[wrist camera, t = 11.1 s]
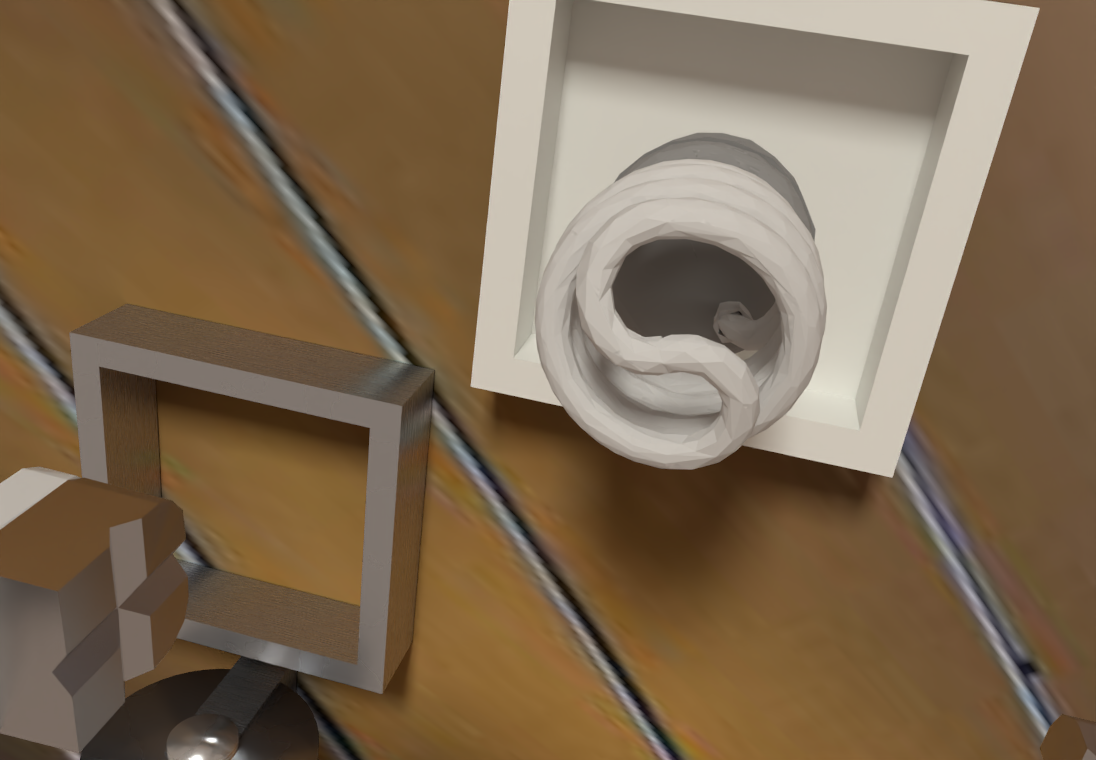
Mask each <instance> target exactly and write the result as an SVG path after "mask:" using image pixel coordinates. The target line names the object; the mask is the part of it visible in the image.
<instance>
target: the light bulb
mask: <svg viewBox="0 0 1096 760" xmlns="http://www.w3.org/2000/svg"><path fill="white" fill-rule="evenodd" d="M815 230H816V229H815V227H814V224H813V221H812V219H811V216H810V214H809V211H808V209H807V206H806V203H805V201H804V198H803V196H802V193H801V191H800V189H799V186H798V184H797V182H796V180H795V178H794V177H793V176H792V175H791V173H790V172H789V171H788V170H787V169H786V168H785V167H784V166H783V165H782V164H781V163H780V162H779V161H778V160H777V158H776V157H775V156H773V155H772V154H770V153H769V152H768V151H766V150H765V149H763V148H762V147H760V146H759V145H758V144H756V143H755V142H753V141H752V140H749V139H745V138H741V137H737V136H733V135H729V134H725V133H695V134H691V135H688V136H685V137H681V138H678V139H674V140H672V141H670V142H667V143H665V144H663V145H661V146H659V147H657V148H655V149H653V150H651V151H649V152H647V153H645V154H644V155H642V156H641V157H640V158H639V159H638V160H636V161H635V162H634V163H633V164H631V165H630V166H629V167H628V168H626V169H625V170H624V171H623V172H621V173H620V174H619V176H618V177H617V179H616V180H615V182H614V183H613V184H611V185H609V186H608V187H607V188H606V189H604V190H603V191H602V192H600V193H599V194H598V195H596V196H595V197H594V198H593V199H591V200H590V201H589V202H588V203H587V204H586V205H585V206H584V207H583V208H582V209H581V210H580V212H579V213H578V214H577V215H576V216H575V217H574V219H573V220H572V221H571V222H570V223H569V225H568V226H567V228H566V230H565V231H564V233H563V234H562V236H561V238H560V239H559V241H558V243H557V244H556V247H555V250H554V251H553V253H552V255H551V257H550V259H549V262H548V264H547V266H546V268H545V270H544V273H543V277H542V280H541V283H540V287H539V291H538V295H537V299H536V310H535V331H536V343H537V350H538V354H539V358H540V362H541V366H542V368H543V371H544V373H545V375H546V377H547V380H548V382H549V384H550V387H551V389H552V391H553V393H554V394H555V396H556V397H557V399H558V400H559V402H560V403H561V405H562V406H563V407H564V409H565V410H566V412H567V413H568V415H569V416H570V417H571V418H572V419H573V420H574V421H575V422H576V423H577V424H578V425H579V426H580V427H581V428H582V429H583V430H584V431H585V432H587V433H588V434H589V435H590V436H591V437H592V438H593V439H595V440H596V441H597V442H598V443H600V444H601V445H603V446H605V447H606V448H608V449H609V450H611V451H613V452H614V453H616V454H618V455H621V456H623V457H625V458H628V459H630V460H632V461H635V462H638V463H642V464H646V465H649V466H653V467H657V468H660V469H696V468H700V467H704V466H708V465H711V464H715V463H719V462H720V461H722V460H723V459H725V458H726V457H728V456H729V455H731V454H732V453H734V452H735V451H737V450H738V449H739V448H740V447H741V446H742V445H743V443H744V442H745V441H746V440H747V439H749V438H751V437H753V436H755V435H757V434H759V433H761V432H762V431H764V430H766V429H768V428H769V427H770V426H771V425H773V424H774V423H775V422H777V421H778V420H779V419H780V418H782V417H783V416H784V415H785V414H786V413H787V412H788V411H789V410H790V409H791V408H792V406H793V405H794V404H795V402H796V401H797V400H798V398H799V397H800V396H801V394H802V393H803V391H804V390H805V389H806V387H807V386H808V385H809V383H810V380H811V378H812V375H813V373H814V371H815V368H816V366H817V363H818V360H819V354H820V349H821V343H822V338H823V335H824V332H825V325H826V314H827V302H826V295H825V289H824V274H823V270H822V265H821V261H820V256H819V252H818V249H817V247H816V244H815ZM743 350H746V351H754V350H758V351H757V352H756V353H755V354H753V355H752V356H751V357H750V358H748V359H745V360H742V359H741V358H739V357H738V356H737V355H736V353H738V352H741V351H743Z"/></svg>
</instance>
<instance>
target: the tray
mask: <svg viewBox="0 0 1096 760" xmlns="http://www.w3.org/2000/svg"><path fill="white" fill-rule="evenodd" d="M1039 9H1040V8H1035V7H1028V6H1021V5H1015V4H1007V3H1000V2H993V1H986V0H509V10H508V20H507V30H506V40H505V50H504V60H503V70H502V80H501V90H500V100H499V110H498V120H497V130H496V140H495V150H494V160H493V170H492V180H491V190H490V200H489V210H488V220H487V230H486V240H485V250H484V260H483V270H482V280H481V289H480V299H479V309H478V319H477V329H476V339H475V349H474V359H473V369H472V379H471V387H475V388H480V389H484V390H489V391H493V392H498V393H503V394H507V395H512V396H517V397H521V398H526V399H531V400H535V401H540V402H544V403H549V404H554V405H558V406H562V405H561V403H560V402H559V400H558V399H557V397H556V396H555V394H554V393H553V391H552V389H551V387H550V384H549V382H548V380H547V377H546V375H545V373H544V371H543V368H542V366H541V362H540V358H539V354H538V350H537V343H536V331H535V310H536V299H537V295H538V291H539V287H540V283H541V280H542V277H543V273H544V270H545V268H546V266H547V264H548V262H549V259H550V257H551V255H552V253H553V251H554V250H555V247H556V244H557V243H558V241H559V239H560V238H561V236H562V234H563V233H564V231H565V230H566V228H567V226H568V225H569V223H570V222H571V221H572V220H573V219H574V217H575V216H576V215H577V214H578V213H579V212H580V210H581V209H582V208H583V207H584V206H585V205H586V204H587V203H588V202H589V201H590V200H591V199H593V198H594V197H595V196H596V195H598V194H599V193H600V192H602V191H603V190H604V189H606V188H607V187H608V186H609V185H611V184H613V183H614V182H615V180H616V179H617V177H618V176H619V174H620V173H621V172H623V171H624V170H625V169H626V168H628V167H629V166H630V165H631V164H633V163H634V162H635V161H636V160H638V159H639V158H640V157H641V156H642V155H644V154H645V153H647V152H649V151H651V150H653V149H655V148H657V147H659V146H661V145H663V144H665V143H667V142H670V141H672V140H674V139H678V138H681V137H685V136H688V135H691V134H695V133H725V134H729V135H733V136H737V137H741V138H745V139H749V140H752V141H753V142H755V143H756V144H758V145H759V146H760V147H762V148H763V149H765V150H766V151H768V152H769V153H770V154H772V155H773V156H775V157H776V158H777V160H778V161H779V162H780V163H781V164H782V165H783V166H784V167H785V168H786V169H787V170H788V171H789V172H790V173H791V175H792V176H793V177H794V178H795V180H796V182H797V184H798V186H799V189H800V191H801V193H802V196H803V198H804V201H805V203H806V206H807V209H808V211H809V214H810V216H811V219H812V221H813V224H814V227H815V229H816V230H815V244H816V247H817V249H818V252H819V256H820V261H821V265H822V270H823V274H824V289H825V295H826V302H827V314H826V325H825V332H824V335H823V338H822V343H821V349H820V354H819V360H818V363H817V366H816V368H815V371H814V373H813V375H812V378H811V380H810V383H809V385H808V386H807V387H806V389H805V390H804V391H803V393H802V394H801V396H800V397H799V398H798V400H797V401H796V402H795V404H794V405H793V406H792V408H791V409H790V410H789V411H788V412H787V413H786V414H785V415H784V416H783V417H782V418H780V419H779V420H778V421H777V422H775V423H774V424H773V425H771V426H770V427H769V428H768V429H766V430H764V431H762V432H761V433H759V434H757V435H755V436H753V437H751V438H749V439H747V440H746V441H745V442H744V443H743V446H748V447H753V448H757V449H762V450H767V451H771V452H776V453H780V454H785V455H790V456H794V457H799V458H804V459H808V460H813V461H818V462H822V463H827V464H831V465H836V466H841V467H845V468H850V469H855V470H859V471H864V472H868V473H873V474H878V475H882V476H887V477H893V474H894V471H895V468H896V464H897V461H898V458H899V455H900V452H901V448H902V445H903V442H904V439H905V436H906V433H907V429H908V426H909V423H910V420H911V417H912V413H913V410H914V407H915V404H916V401H917V397H918V394H919V391H920V388H921V385H922V382H923V378H924V375H925V372H926V369H927V366H928V362H929V359H930V356H931V353H932V350H933V347H934V343H935V340H936V337H937V334H938V331H939V327H940V324H941V321H942V318H943V315H944V311H945V308H946V305H947V302H948V299H949V296H950V292H951V289H952V286H953V283H954V280H955V276H956V273H957V270H958V267H959V264H960V261H961V257H962V254H963V251H964V248H965V245H966V241H967V238H968V235H969V232H970V229H971V225H972V222H973V219H974V216H975V213H976V210H977V206H978V203H979V200H980V197H981V194H982V190H983V187H984V184H985V181H986V178H987V175H988V171H989V168H990V165H991V162H992V159H993V155H994V152H995V149H996V146H997V143H998V139H999V136H1000V133H1001V130H1002V127H1003V124H1004V120H1005V117H1006V114H1007V111H1008V108H1009V104H1010V101H1011V98H1012V95H1013V92H1014V89H1015V85H1016V82H1017V79H1018V76H1019V73H1020V69H1021V66H1022V63H1023V60H1024V57H1025V53H1026V50H1027V47H1028V44H1029V41H1030V38H1031V34H1032V31H1033V28H1034V25H1035V22H1036V18H1037V15H1038V12H1039ZM757 351H758V350H754V351H746V350H743V351H741V352H738V353H736V355H737V356H738V357H739V358H741V359H742V360H745V359H748V358H750V357H751V356H752V355H753V354H755V353H756V352H757Z"/></svg>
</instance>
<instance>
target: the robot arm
mask: <svg viewBox="0 0 1096 760" xmlns="http://www.w3.org/2000/svg"><path fill="white" fill-rule="evenodd" d="M185 539H186V537H185V527H184V518H183V510H182V509H181V508H180V507H179V506H177V505H176V504H175V503H174V502H173V501H171V500H168V499H164V498H160V497H156V496H152V495H149V494H145V493H141V492H137V491H133V490H130V489H126V488H122V487H118V486H115V485H111V484H107V483H103V482H99V481H96V480H92V479H88V478H80V477H77V476H75V475H71V474H67V473H63V472H59V471H55V470H51V469H47V468H43V467H33V468H23V469H21V470H20V471H18V472H17V473H15V474H14V475H12V476H11V477H9V478H8V479H6V480H5V481H3V482H2V483H0V733H2V734H6V735H10V736H13V737H17V738H21V739H25V740H29V741H33V742H37V743H41V744H45V745H49V746H53V747H57V748H61V749H64V750H68V751H72V752H76V753H80V752H81V750H82V749H83V748H84V747H85V746H86V745H87V744H88V743H89V742H90V740H91V739H92V738H93V737H94V736H95V735H96V734H97V733H98V731H99V730H100V729H101V728H102V727H103V726H104V725H105V724H106V722H107V721H108V720H109V719H110V718H111V717H112V716H113V715H114V714H115V712H116V711H117V710H118V709H119V708H120V707H121V706H122V705H123V703H124V702H125V681H127V680H129V679H131V678H134V677H136V676H138V675H141V674H143V673H146V672H148V671H150V670H153V669H154V668H155V667H156V666H157V665H158V664H159V662H160V661H161V660H162V659H163V658H164V656H165V655H166V654H167V653H168V652H169V650H170V649H171V648H172V646H173V644H174V642H175V640H176V637H177V635H178V633H179V631H180V629H181V627H182V625H183V623H184V620H185V615H186V610H187V604H188V598H189V591H188V576H187V574H186V573H185V571H184V570H183V568H182V567H181V565H180V564H179V563H178V561H177V560H176V558H175V557H174V555H173V553H174V552H175V550H176V549H177V548H178V547H179V546H180V545H181V544H182V542H183V541H184V540H185ZM1040 750H1041V754H1042V757H1043V760H1096V722H1094V721H1089V720H1085V719H1081V718H1077V717H1072V716H1068V715H1064V714H1062V715H1061V716H1060V717H1059V718H1058V719H1057V720H1056V721H1055V722H1054V723H1053V724H1052V725H1051V726H1050V728H1049V730H1048V732H1047V734H1046V736H1045V738H1044V741H1043V743H1042V745H1041V747H1040Z"/></svg>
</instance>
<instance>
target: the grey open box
mask: <svg viewBox="0 0 1096 760" xmlns="http://www.w3.org/2000/svg"><path fill="white" fill-rule="evenodd" d="M70 343H71V354H72V366H73V377H74V389H75V400H76V411H77V423H78V434H79V446H80V457H81V468H82V478H88V479H92V480H96V481H99V482H103V483H107V484H111V485H115V486H118V487H122V488H126V489H130V490H133V491H137V492H141V493H145V494H149V495H152V496H156V497H160V498H161V481H160V461H159V441H158V420H157V400H156V379H157V380H161V381H165V382H170V383H174V384H179V385H183V386H187V387H192V388H196V389H201V390H205V391H209V392H214V393H218V394H223V395H227V396H231V397H236V398H240V399H245V400H249V401H253V402H258V403H262V404H267V405H271V406H275V407H280V408H284V409H289V410H293V411H298V412H302V413H306V414H311V415H315V416H320V417H324V418H328V419H333V420H337V421H342V422H346V423H350V424H355V425H359V426H364V427H368V428H370V437H369V455H368V474H367V493H366V511H365V530H364V549H363V567H362V586H361V605H360V607H358V606H354V605H351V604H347V603H343V602H339V601H335V600H331V599H327V598H324V597H320V596H316V595H312V594H308V593H304V592H300V591H296V590H293V589H289V588H285V587H281V586H277V585H273V584H269V583H266V582H262V581H258V580H254V579H250V578H246V577H242V576H239V575H235V574H231V573H227V572H223V571H219V570H215V569H212V568H208V567H204V566H200V565H196V564H192V563H188V562H185V561H181V560H177V559H176V560H177V561H178V563H179V564H180V565H181V567H182V568H183V570H184V571H185V573H186V574H187V576H188V591H189V598H188V604H187V610H186V615H185V620H184V623H183V625H182V627H181V629H180V631H179V633H178V635H177V637H176V638H179V639H182V640H186V641H190V642H193V643H197V644H201V645H204V646H208V647H212V648H215V649H219V650H223V651H226V652H230V653H234V654H237V655H241V658H240V659H239V660H238V661H237V662H236V664H235V665H234V666H233V667H232V669H210V670H200V671H193V672H188V673H184V674H179V675H175V676H172V677H169V678H166V679H163V680H160V681H158V682H155V683H153V684H150V685H148V686H146V687H144V688H142V689H140V690H139V691H137V692H135V693H133V694H132V695H130V696H129V697H127V698H125V702H124V703H123V705H122V706H121V707H120V708H119V709H118V710H117V711H116V712H115V714H114V715H113V716H112V717H111V718H110V719H109V720H108V721H107V722H106V724H105V725H104V726H103V727H102V728H101V729H100V730H99V731H98V733H97V734H96V735H95V736H94V737H93V738H92V739H91V740H90V742H89V743H88V744H87V745H86V746H85V747H84V748H83V750H82V754H81V758H80V760H318V750H319V733H318V728H317V723H316V720H315V718H314V715H313V713H312V711H311V710H310V708H309V707H308V705H307V704H306V702H305V701H304V700H303V699H302V698H301V697H300V696H299V695H298V694H297V693H296V673H297V671H299V672H303V673H307V674H310V675H314V676H318V677H321V678H325V679H329V680H332V681H336V682H340V683H343V684H347V685H351V686H354V687H358V688H362V689H365V690H369V691H373V692H376V693H380V694H383V692H384V690H385V689H386V687H387V685H388V683H389V682H390V680H391V678H392V676H393V675H394V673H395V671H396V669H397V668H398V666H399V664H400V662H401V661H402V659H403V657H404V655H405V654H406V652H407V650H408V648H409V647H410V645H411V643H412V638H413V626H414V614H415V602H416V590H417V578H418V566H419V553H420V541H421V529H422V517H423V505H424V493H425V481H426V469H427V456H428V444H429V432H430V420H431V408H432V396H433V384H434V372H435V370H432V369H428V368H423V367H418V366H414V365H409V364H404V363H400V362H395V361H390V360H386V359H381V358H376V357H372V356H367V355H362V354H358V353H353V352H348V351H344V350H339V349H334V348H330V347H325V346H320V345H316V344H311V343H306V342H302V341H297V340H292V339H288V338H283V337H279V336H274V335H269V334H265V333H260V332H255V331H251V330H246V329H241V328H237V327H232V326H227V325H223V324H218V323H213V322H209V321H204V320H199V319H195V318H190V317H185V316H181V315H176V314H171V313H167V312H162V311H157V310H153V309H148V308H143V307H139V306H134V305H129V304H125V305H123V306H121V307H119V308H117V309H115V310H113V311H111V312H109V313H107V314H105V315H103V316H101V317H99V318H97V319H95V320H93V321H91V322H89V323H87V324H85V325H83V326H81V327H79V328H77V329H75V330H73V331H71V332H70Z"/></svg>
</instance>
